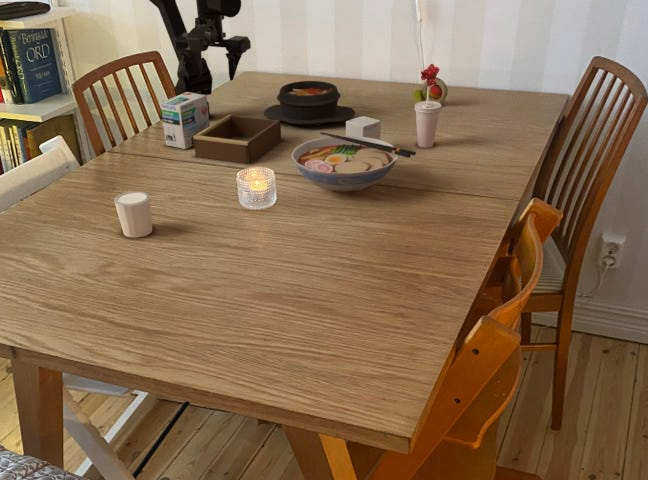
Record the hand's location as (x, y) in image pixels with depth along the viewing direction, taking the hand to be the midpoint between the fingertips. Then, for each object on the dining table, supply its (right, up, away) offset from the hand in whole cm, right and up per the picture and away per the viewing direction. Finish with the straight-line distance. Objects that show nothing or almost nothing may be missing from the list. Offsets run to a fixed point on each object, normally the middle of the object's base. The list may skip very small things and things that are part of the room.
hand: (215, 78), depth 187 cm
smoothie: (+52, -19, -7) cm, 56 cm away
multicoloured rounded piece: (+58, 0, +20) cm, 61 cm away
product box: (+37, -21, -9) cm, 43 cm away
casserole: (+24, -7, +12) cm, 28 cm away
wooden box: (+6, -19, -5) cm, 21 cm away
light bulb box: (-7, -16, +1) cm, 17 cm away
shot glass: (-10, -46, -42) cm, 63 cm away
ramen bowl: (+31, -34, -26) cm, 53 cm away
